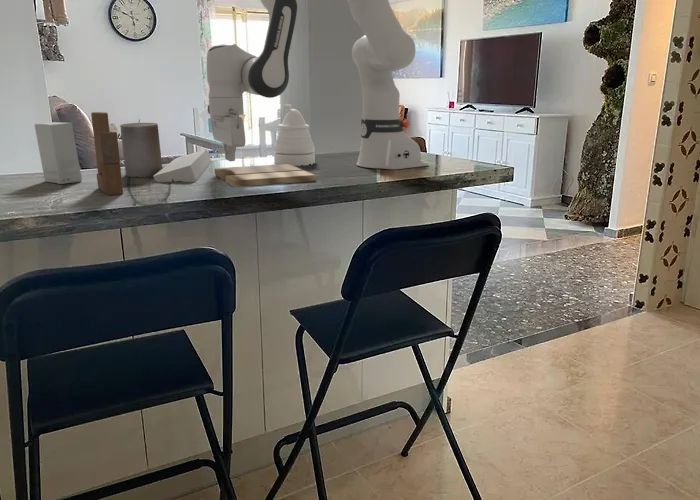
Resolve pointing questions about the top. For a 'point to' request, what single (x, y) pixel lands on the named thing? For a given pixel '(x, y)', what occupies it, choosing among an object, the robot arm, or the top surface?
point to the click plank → (254, 170)
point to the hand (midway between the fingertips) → (230, 160)
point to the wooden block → (106, 155)
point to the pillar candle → (141, 149)
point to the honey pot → (294, 140)
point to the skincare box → (58, 152)
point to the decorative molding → (185, 168)
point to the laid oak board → (269, 178)
